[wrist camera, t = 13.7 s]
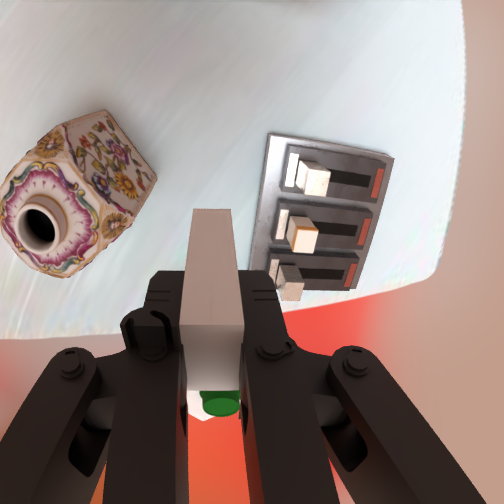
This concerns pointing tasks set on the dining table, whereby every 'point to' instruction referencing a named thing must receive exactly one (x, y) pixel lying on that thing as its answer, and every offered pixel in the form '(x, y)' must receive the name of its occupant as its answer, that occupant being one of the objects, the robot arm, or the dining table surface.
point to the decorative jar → (73, 195)
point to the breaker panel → (317, 212)
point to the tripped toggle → (301, 234)
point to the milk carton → (213, 403)
